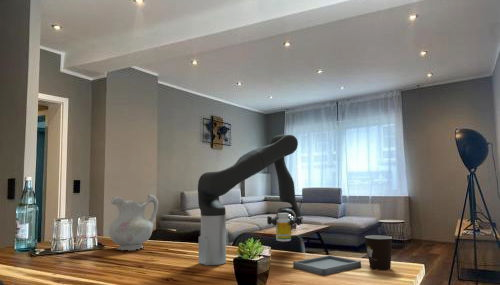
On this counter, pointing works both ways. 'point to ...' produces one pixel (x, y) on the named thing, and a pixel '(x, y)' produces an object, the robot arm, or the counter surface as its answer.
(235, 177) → the robot arm
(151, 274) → the counter surface
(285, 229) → the supplement bottle
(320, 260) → the tray
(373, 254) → the coffee mug
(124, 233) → the ceramic pitcher
